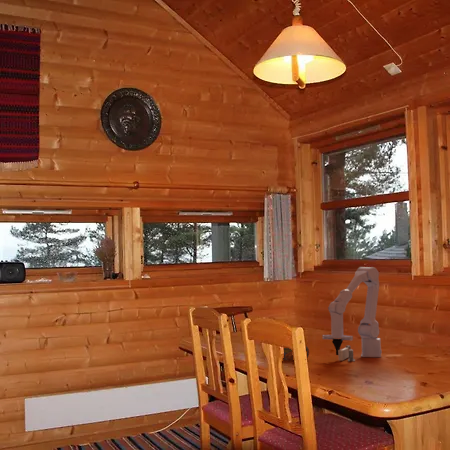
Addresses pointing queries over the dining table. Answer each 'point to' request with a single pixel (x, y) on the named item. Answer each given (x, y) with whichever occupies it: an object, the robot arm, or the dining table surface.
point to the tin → (289, 355)
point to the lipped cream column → (343, 353)
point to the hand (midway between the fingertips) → (338, 354)
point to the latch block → (351, 355)
